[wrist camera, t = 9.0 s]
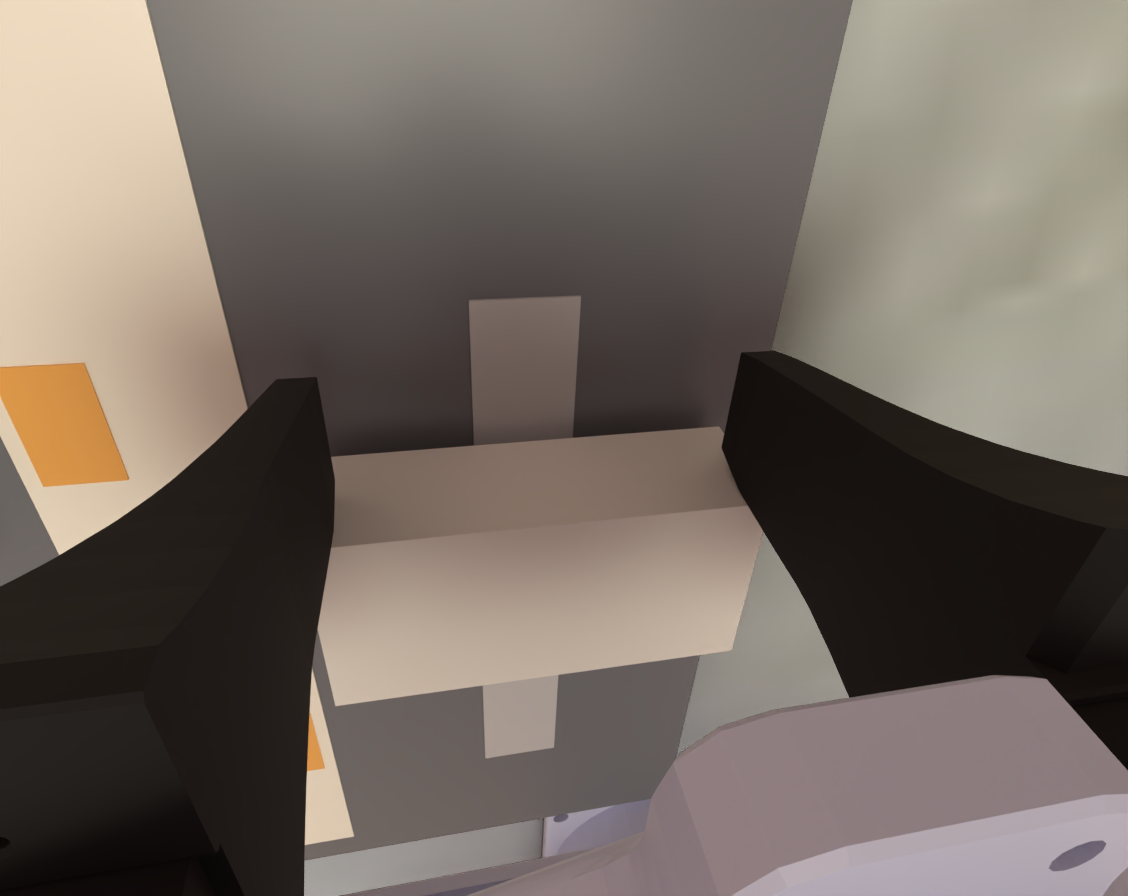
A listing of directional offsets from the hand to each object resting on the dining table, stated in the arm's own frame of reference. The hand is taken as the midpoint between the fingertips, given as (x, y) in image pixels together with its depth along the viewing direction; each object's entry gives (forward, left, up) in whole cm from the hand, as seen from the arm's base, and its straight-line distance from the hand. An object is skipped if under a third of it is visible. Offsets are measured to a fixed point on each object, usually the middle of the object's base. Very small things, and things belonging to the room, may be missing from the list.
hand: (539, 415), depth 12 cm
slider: (-3, 0, -1) cm, 4 cm away
